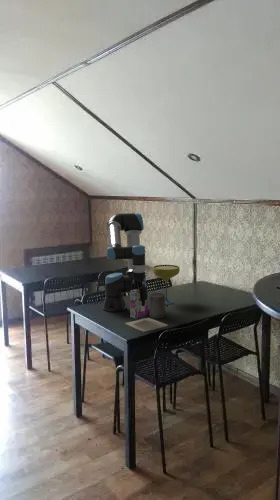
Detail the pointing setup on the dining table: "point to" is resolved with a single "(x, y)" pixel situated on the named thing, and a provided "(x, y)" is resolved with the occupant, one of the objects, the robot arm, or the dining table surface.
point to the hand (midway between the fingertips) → (139, 309)
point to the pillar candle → (157, 305)
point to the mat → (146, 324)
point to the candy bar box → (137, 304)
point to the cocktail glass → (166, 275)
